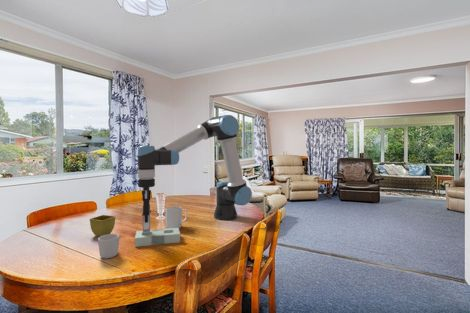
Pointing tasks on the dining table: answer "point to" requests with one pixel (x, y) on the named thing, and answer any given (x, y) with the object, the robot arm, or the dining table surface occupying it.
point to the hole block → (157, 237)
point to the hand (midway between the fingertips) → (146, 227)
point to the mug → (174, 217)
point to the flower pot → (102, 224)
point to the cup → (108, 245)
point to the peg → (147, 229)
